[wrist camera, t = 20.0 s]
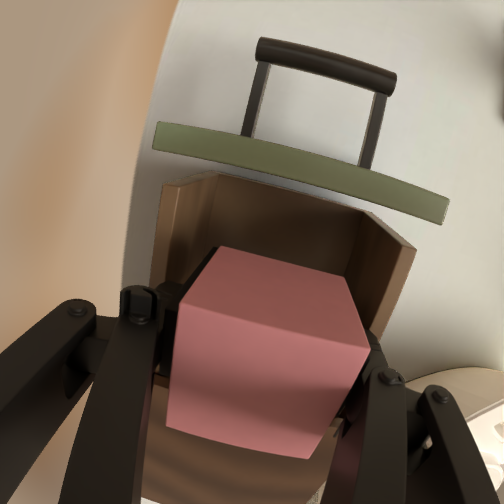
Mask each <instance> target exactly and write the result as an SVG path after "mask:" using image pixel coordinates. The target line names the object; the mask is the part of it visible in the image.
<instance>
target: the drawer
mask: <svg viewBox="0 0 504 504" xmlns="http://www.w3.org/2000/svg"><path fill="white" fill-rule="evenodd" d="M255 60H256V61H257V62H258V65H257V69H256V73H255V77H254V81H253V85H252V89H251V93H250V97H249V101H248V105H247V109H246V113H245V117H244V122H243V126H242V130H241V134H240V135H235V134H231V133H226V132H220V131H215V130H210V129H204V128H199V127H193V126H187V125H181V124H174V123H168V122H161V121H159V122H157V125H156V130H155V135H154V140H153V145H152V149H153V150H158V151H163V152H169V153H174V154H180V155H185V156H190V157H195V158H200V159H205V160H210V161H215V162H219V163H224V164H228V165H233V166H237V167H242V168H246V169H251V170H255V171H259V172H263V173H267V174H271V175H275V176H279V177H283V178H287V179H291V180H295V181H299V182H303V183H306V184H310V185H314V186H317V187H321V188H325V189H328V190H332V191H335V192H339V193H342V194H345V195H349V196H352V197H356V198H359V199H362V200H365V201H369V202H372V203H375V204H378V205H381V206H385V207H388V208H391V209H394V210H397V211H400V212H403V213H406V214H409V215H412V216H415V217H418V218H421V219H423V220H426V221H429V222H432V223H435V224H438V225H442V224H443V222H444V218H445V215H446V212H447V209H448V205H449V202H450V200H449V199H448V198H446V197H444V196H441V195H439V194H436V193H433V192H431V191H428V190H426V189H423V188H420V187H418V186H415V185H412V184H409V183H407V182H404V181H401V180H398V179H395V178H392V177H390V176H387V175H384V174H381V173H378V172H375V171H372V170H370V169H371V165H372V161H373V157H374V153H375V149H376V145H377V141H378V137H379V133H380V129H381V124H382V120H383V115H384V111H385V106H386V102H387V97H390V96H391V95H392V94H393V92H394V89H395V86H396V82H397V75H396V73H394V72H391V71H388V70H386V69H383V68H380V67H377V66H374V65H372V64H369V63H366V62H363V61H359V60H356V59H353V58H350V57H347V56H343V55H340V54H336V53H333V52H329V51H325V50H322V49H318V48H314V47H310V46H305V45H301V44H297V43H292V42H287V41H282V40H277V39H272V38H266V37H260V38H259V41H258V43H257V47H256V53H255ZM270 64H272V65H277V66H282V67H287V68H291V69H296V70H300V71H304V72H308V73H312V74H316V75H320V76H323V77H327V78H331V79H334V80H338V81H341V82H345V83H348V84H351V85H354V86H357V87H360V88H364V89H367V90H370V91H372V92H375V93H374V97H373V102H372V106H371V111H370V115H369V119H368V124H367V128H366V132H365V136H364V140H363V144H362V148H361V152H360V156H359V160H358V164H357V166H356V165H353V164H349V163H346V162H343V161H339V160H336V159H333V158H329V157H326V156H322V155H318V154H315V153H311V152H307V151H304V150H300V149H296V148H292V147H288V146H284V145H280V144H276V143H272V142H267V141H263V140H259V139H254V138H253V137H254V133H255V129H256V125H257V120H258V116H259V112H260V108H261V104H262V100H263V96H264V92H265V88H266V84H267V79H268V75H269V71H270V68H271V65H270ZM213 246H214V247H218V248H219V247H220V246H224V247H228V248H232V249H236V250H240V251H244V252H248V253H252V254H256V255H259V256H263V257H267V258H271V259H275V260H279V261H283V262H287V263H291V264H295V265H298V266H302V267H306V268H310V269H314V270H318V271H322V272H326V273H330V274H334V275H338V276H341V277H344V278H345V281H346V283H347V286H348V288H349V291H350V294H351V296H352V299H353V302H354V304H355V307H356V309H357V312H358V315H359V318H360V320H361V323H362V326H363V329H367V330H371V332H372V333H373V334H374V335H375V336H376V337H377V339H378V341H380V339H381V336H382V334H383V332H384V330H385V328H386V326H387V323H388V321H389V319H390V317H391V315H392V312H393V310H394V308H395V305H396V303H397V301H398V298H399V296H400V293H401V291H402V289H403V286H404V284H405V281H406V279H407V276H408V273H409V271H410V268H411V266H412V263H413V260H414V258H415V255H416V252H417V249H416V248H414V247H413V246H412V245H411V244H410V243H409V242H407V241H406V240H405V239H404V238H403V237H401V236H400V235H399V234H398V233H397V232H395V231H394V230H393V229H392V228H391V227H389V226H388V225H387V224H386V223H384V222H383V221H382V220H381V219H379V218H378V217H377V216H376V215H374V214H373V213H372V212H369V211H366V210H362V209H359V208H356V207H352V206H349V205H345V204H342V203H339V202H335V201H331V200H328V199H324V198H321V197H317V196H313V195H310V194H306V193H302V192H299V191H295V190H291V189H287V188H283V187H279V186H275V185H271V184H267V183H263V182H259V181H255V180H251V179H246V178H242V177H238V176H234V175H229V174H225V173H220V172H216V171H208V172H204V173H200V174H196V175H192V176H189V177H185V178H181V179H178V180H174V181H171V182H167V183H164V184H163V187H162V192H161V199H160V205H159V211H158V218H157V225H156V232H155V240H154V247H153V256H152V264H151V273H150V283H149V287H150V288H153V289H155V288H156V287H157V286H158V285H159V284H160V283H163V282H166V281H168V280H169V281H173V282H176V283H180V284H183V285H184V283H185V282H186V281H187V279H188V278H189V277H190V276H191V274H192V273H193V272H194V270H195V269H196V268H197V267H198V265H199V264H200V263H201V262H202V260H203V259H204V258H205V256H206V255H207V254H208V253H209V251H210V250H211V249H212V248H213ZM159 365H160V363H159ZM159 365H158V367H157V368H156V370H155V374H157V375H160V376H163V377H166V378H169V379H170V377H168V376H165V375H162V374H159ZM344 407H345V406H344ZM343 409H344V408H343ZM340 414H341V413H340ZM338 417H339V416H335V418H338Z"/></svg>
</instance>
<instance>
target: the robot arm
mask: <svg viewBox="0 0 504 504" xmlns="http://www.w3.org/2000/svg"><path fill="white" fill-rule="evenodd" d="M218 249H219V248H218V247H214V246H213V248H212V249H211V250H210V251H209V253H208V254H207V255H206V256H205V258H204V259H203V260H202V262H201V263H200V264H199V265H198V267H197V268H196V269H195V270H194V272H193V273H192V274H191V276H190V277H189V278H188V279H187V281H186V282H185V283H184V285H183V284H180V283H176V282H173V281H169V280H168V281H166V282H163V283H160V284H159V285H158V286H157V287H156V288H155V289H153V288H150V287H146V286H140V285H134V286H128V287H126V288H123V290H122V291H121V292H120V312H119V316H118V317H106V316H99V315H96V307H95V306H94V305H93V303H91V302H89V301H86V300H82V299H71V300H67V301H65V302H63V303H61V304H60V305H59V306H57V307H56V308H55V309H54V310H52V311H51V312H50V313H49V314H47V315H46V316H45V317H44V318H42V319H41V320H40V321H39V322H37V323H36V324H35V325H34V326H33V327H31V328H30V329H29V330H28V331H26V332H25V333H24V334H23V335H22V336H20V337H19V338H18V339H17V340H16V341H15V342H13V343H12V344H11V345H10V346H9V347H8V348H7V349H5V350H4V351H3V352H2V353H1V354H0V504H7V502H8V501H9V499H10V498H11V496H12V495H13V493H14V492H15V490H16V489H17V487H18V486H19V484H20V483H21V481H22V480H23V478H24V477H25V475H26V474H27V472H28V471H29V469H30V468H31V466H32V465H33V464H34V462H35V461H36V459H37V457H38V456H39V455H40V453H41V452H42V451H43V449H44V447H45V446H46V445H47V443H48V442H49V441H50V439H51V438H52V436H53V435H54V434H55V432H56V431H57V429H58V428H59V427H60V425H61V424H62V423H63V421H64V420H65V418H66V417H67V416H68V414H69V413H70V412H71V410H72V409H73V408H74V406H75V405H76V404H77V402H78V401H79V399H80V398H81V397H82V395H83V394H84V393H85V391H86V390H87V389H88V387H89V386H90V385H91V383H92V382H93V381H94V382H93V384H92V387H91V390H90V393H89V396H88V399H87V402H86V405H85V408H84V411H83V414H82V417H81V421H80V424H79V427H78V431H77V434H76V437H75V440H74V444H73V447H72V451H71V455H70V458H69V462H68V465H67V469H66V473H65V477H64V481H63V485H62V489H61V494H60V498H59V502H58V504H141V490H142V478H143V467H144V457H145V448H146V439H147V431H148V422H149V415H150V407H151V400H152V393H153V386H154V379H155V370H156V368H157V367H158V365H159V363H160V365H159V374H162V375H165V376H168V377H170V372H171V363H172V355H173V346H174V338H175V330H176V323H177V315H178V308H179V303H180V302H181V300H182V299H183V297H184V296H185V294H186V293H187V292H188V290H189V289H190V287H191V286H192V285H193V283H194V282H195V280H196V279H197V278H198V276H199V275H200V273H201V272H202V271H203V269H204V268H205V267H206V265H207V264H208V262H209V261H210V260H211V258H212V257H213V255H214V254H215V253H216V251H217V250H218ZM364 331H365V334H366V337H367V340H368V343H369V345H370V348H371V350H370V352H369V354H368V356H367V358H366V360H365V362H364V364H363V366H362V368H361V370H360V372H359V374H358V376H357V378H356V380H355V382H354V384H353V385H352V387H351V389H350V391H349V393H348V395H347V396H346V398H345V400H344V402H343V404H342V405H341V407H340V409H339V411H338V412H337V414H336V416H339V415H340V413H341V412H342V410H343V408H344V406H345V408H346V416H345V418H344V419H343V421H342V422H341V424H340V426H339V427H338V429H337V430H336V432H335V434H334V435H333V437H335V438H336V436H337V435H338V438H337V443H336V447H335V451H334V455H333V459H332V462H331V466H330V470H329V474H328V477H327V481H326V484H325V488H324V491H323V494H322V498H321V501H320V504H500V501H499V499H498V496H497V493H496V491H495V488H494V485H493V483H492V480H491V478H490V475H489V473H488V470H487V468H486V465H485V463H484V460H483V458H482V456H481V453H480V451H479V449H478V447H477V444H476V442H475V440H474V438H473V435H472V433H471V431H470V429H469V427H468V425H467V423H466V421H465V418H464V416H463V414H462V412H461V410H460V408H459V406H458V404H457V402H456V400H455V398H454V397H453V395H452V394H451V393H450V392H449V391H448V390H447V389H446V388H443V387H442V386H439V385H435V384H434V385H428V386H427V387H426V388H425V389H424V391H423V392H422V393H420V392H417V391H414V390H411V389H409V388H406V387H405V381H404V378H403V377H402V376H401V375H400V374H399V373H398V372H396V371H395V370H393V369H391V368H389V367H388V364H387V362H386V359H385V356H384V354H383V352H382V349H381V346H380V344H379V341H378V339H377V337H376V336H375V335H374V334H373V333H372V332H371V330H367V329H364ZM429 438H431V441H432V445H431V446H430V447H429V448H428V447H427V445H426V442H427V441H428V440H429Z"/></svg>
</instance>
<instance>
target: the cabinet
mask: <svg viewBox="0 0 504 504" xmlns="http://www.w3.org/2000/svg"><path fill="white" fill-rule="evenodd" d="M169 382H170V379H169V378H166V377H163V376H160V375H157V374H155V379H154V386H153V393H152V400H151V407H150V415H149V422H148V431H147V439H146V448H145V457H144V467H143V478H142V490H141V497H143V498H146V499H148V500H151V501H154V502H157V503H160V504H306V503H307V502H308V501H309V500H310V499H311V498H312V496H313V495H314V494H315V493H316V492H317V491H318V490H319V488H320V487H321V486H322V485H323V484H324V482H325V481H326V480H327V477H328V474H329V470H330V466H331V462H332V459H333V455H334V451H335V447H336V443H337V438H338V435H337V436H336V438H335V437H333V435H334V434H335V432H336V430H337V429H338V427H339V426H340V424H341V422H342V421H343V419H344V418H345V416H346V408H345V407H344V409H343V410H342V412H341V414H340V415H339V417H338V418H335V417H334V419H333V421H332V422H331V424H330V426H329V427H328V429H327V431H326V432H325V434H324V436H323V437H322V439H321V440H320V442H319V443H318V445H317V447H316V448H315V450H314V451H313V453H312V454H311V456H310V457H309V459H304V458H297V457H290V456H284V455H278V454H273V453H267V452H262V451H257V450H252V449H248V448H243V447H239V446H234V445H230V444H226V443H222V442H218V441H214V440H211V439H207V438H203V437H200V436H196V435H193V434H189V433H186V432H183V431H180V430H177V429H173V428H170V427H167V426H166V413H167V402H168V392H169Z"/></svg>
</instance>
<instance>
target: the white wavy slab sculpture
mask: <svg viewBox="0 0 504 504" xmlns="http://www.w3.org/2000/svg"><path fill="white" fill-rule="evenodd" d="M434 384H435V385H439V386H442V387H443V388H446V389H447V390H448V391H449V392H450V393H451V394H452V395H453V397H454V398H455V400H456V402H457V404H458V406H459V408H460V410H461V412H462V414H463V416H464V418H465V421H466V423H467V425H468V427H469V429H470V431H471V433H472V435H473V438H474V440H475V442H476V444H477V447H478V449H479V451H480V453H481V456H482V458H483V460H484V463H485V465H486V468H487V470H488V473H489V475H490V478H491V480H492V483H493V485H494V488H495V491H497V489H498V488H499V486H500V484H501V482H502V479H503V470H502V468H501V466H500V464H504V425H503V424H501V422H503V421H504V372H503V371H498V370H493V369H487V368H479V367H467V368H457V369H451V370H446V371H441V372H437V373H434V374H430V375H427V376H424V377H421V378H418V379H415V380H413V381H410V382H408V383H405V387H406V388H409V389H411V390H414V391H417V392H420V393H422V392H423V391H424V389H425V388H426V387H427V386H428V385H434ZM426 445H427V447H428V448H429V447H430V446H431V445H432V441H431V438H429V440H428V441H427V442H426ZM326 481H327V480H326ZM326 481H325V482H324V484H323V485H322V486H321V487H320V488H319V494H318V502H317V504H320V501H321V498H322V494H323V491H324V488H325V484H326Z"/></svg>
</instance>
